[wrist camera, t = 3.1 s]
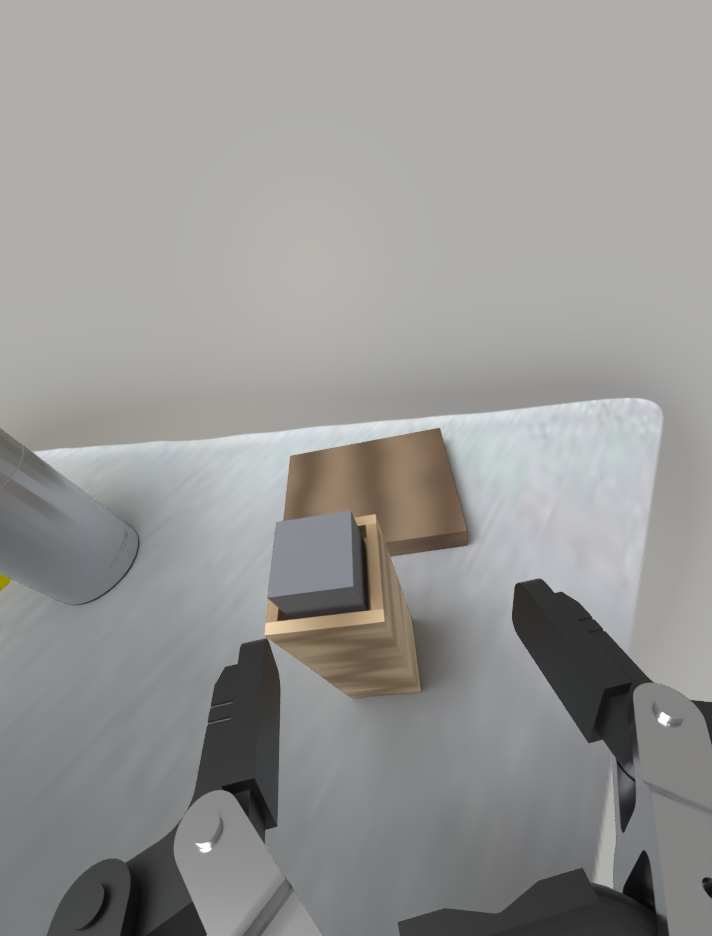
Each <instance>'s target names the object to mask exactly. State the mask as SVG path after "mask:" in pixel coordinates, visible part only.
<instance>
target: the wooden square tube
mask: <svg viewBox="0 0 712 936" xmlns="http://www.w3.org/2000/svg"><path fill="white" fill-rule="evenodd" d="M354 519H355V521H356V523H357V526H358V528H359V530H360V533H361V535H362V537H363V540H364V542H365V549H366V566H367V583H368V600H369V611H361V612H353V613H344V614H336V615H327V616H319V617H311V618H302V619H294V620H291V619H290V618H289V617H288V616H287V615H286V614H285V613H284V612H282V611H281V610H280V609H279V608H278V607H277V606H276V605H275V604H274V603H273V602H272V601H270V600H268V609H267V617H266V626H265V634H264V635H265V636H266V637H267V638H269V639H270V640H271V641H273V642H274V643H276V644H277V645H278V646H280V647H281V648H283V649H284V650H285V651H287V652H288V653H289V654H291V655H292V656H294V657H295V658H296V659H298V660H299V661H301V662H302V663H303V664H305V665H306V666H308V667H309V668H310V669H312V670H313V671H314V672H316V673H317V674H319V675H320V676H321V677H323V678H324V679H326V680H327V681H328V682H330V683H331V684H333V685H334V686H335V687H337V688H338V689H339V690H341V691H342V692H344V693H345V694H346V695H348V696H349V697H351V698H357V697H369V696H381V695H393V694H405V693H416V692H421V686H420V678H419V671H418V663H417V655H416V648H415V640H414V632H413V625H412V618H411V615H410V612H409V609H408V606H407V604H406V601H405V598H404V595H403V592H402V589H401V586H400V583H399V580H398V578H397V575H396V572H395V569H394V566H393V563H392V560H391V557H390V555H389V552H388V549H387V546H386V543H385V540H384V537H383V534H382V531H381V529H380V526H379V523H378V520H377V517H376V514H373V515H367V516H361V517H354Z"/></svg>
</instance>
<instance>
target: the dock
mask: <svg viewBox="0 0 712 936" xmlns="http://www.w3.org/2000/svg"><path fill="white" fill-rule="evenodd" d="M349 510H351V512H352V514H353V516H354V517H361V516H367V515H373V514H376V517H377V520H378V523H379V526H380V529H381V531H382V534H383V537H384V540H385V543H386V546H387V549H388V552H389V555H390V556H395V555H402V554H409V553H416V552H423V551H430V550H438V549H445V548H452V547H459V546H466V545H467V528H466V525H465V521H464V517H463V513H462V510H461V506H460V502H459V498H458V494H457V491H456V487H455V483H454V479H453V476H452V472H451V468H450V464H449V460H448V457H447V453H446V449H445V445H444V442H443V438H442V434H441V430H440V428H437V429H431V430H426V431H421V432H415V433H410V434H405V435H399V436H394V437H389V438H383V439H378V440H373V441H367V442H362V443H357V444H351V445H346V446H341V447H335V448H330V449H325V450H319V451H314V452H309V453H303V454H298V455H293V456H290V464H289V473H288V482H287V492H286V501H285V511H284V520H283V521H287V520H293V519H300V518H306V517H312V516H318V515H324V514H331V513H337V512H343V511H349Z"/></svg>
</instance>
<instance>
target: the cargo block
mask: <svg viewBox="0 0 712 936" xmlns="http://www.w3.org/2000/svg"><path fill="white" fill-rule="evenodd" d="M267 598H268V599H269V600H270V601H272V602H273V603H274V604H275V605H276V606H277V607H278V608H279V609H280V610H281V611H282V612H284V613H285V614H286V615H287V616H288V617H289V618H290V619H291V620H294V619H302V618H311V617H319V616H327V615H336V614H344V613H353V612H361V611H369V600H368V583H367V566H366V549H365V542H364V540H363V537H362V535H361V533H360V530H359V528H358V526H357V523H356V521H355V519H354V516H353V514H352V512H351V510H349V511H343V512H337V513H331V514H324V515H318V516H312V517H306V518H300V519H293V520H287V521H281V522H276V530H275V538H274V546H273V555H272V563H271V571H270V580H269V588H268V596H267Z"/></svg>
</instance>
